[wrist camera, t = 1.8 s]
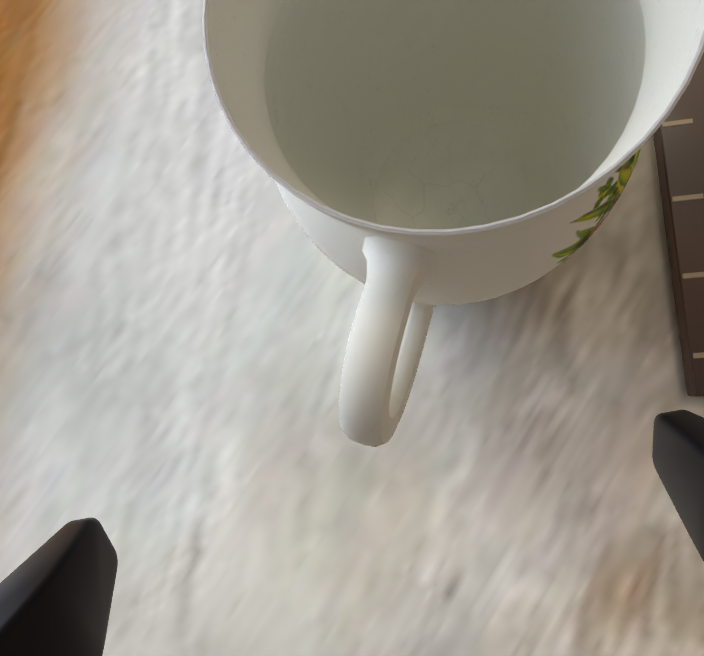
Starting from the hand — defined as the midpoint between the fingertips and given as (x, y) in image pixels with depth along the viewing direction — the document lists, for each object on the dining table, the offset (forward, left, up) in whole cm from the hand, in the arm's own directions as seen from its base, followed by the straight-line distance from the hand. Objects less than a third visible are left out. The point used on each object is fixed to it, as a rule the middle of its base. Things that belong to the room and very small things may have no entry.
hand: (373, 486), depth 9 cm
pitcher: (+7, -6, -15) cm, 17 cm away
